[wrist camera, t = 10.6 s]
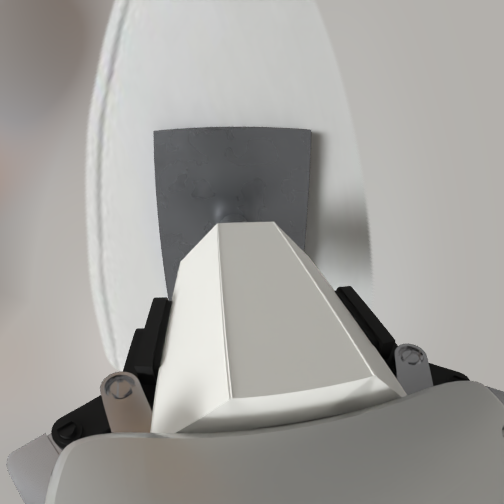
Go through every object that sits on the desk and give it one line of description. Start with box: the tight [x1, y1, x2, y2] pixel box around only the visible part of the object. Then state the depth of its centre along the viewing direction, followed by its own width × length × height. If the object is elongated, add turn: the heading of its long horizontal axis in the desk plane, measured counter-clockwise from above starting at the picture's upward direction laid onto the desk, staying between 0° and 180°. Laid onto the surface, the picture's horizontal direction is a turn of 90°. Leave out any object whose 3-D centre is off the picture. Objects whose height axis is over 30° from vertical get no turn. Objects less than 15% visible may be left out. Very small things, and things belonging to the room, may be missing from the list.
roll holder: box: [154, 127, 311, 301], centre depth 19 cm, size 16×12×11 cm
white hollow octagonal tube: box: [150, 221, 407, 433], centre depth 10 cm, size 7×7×10 cm
